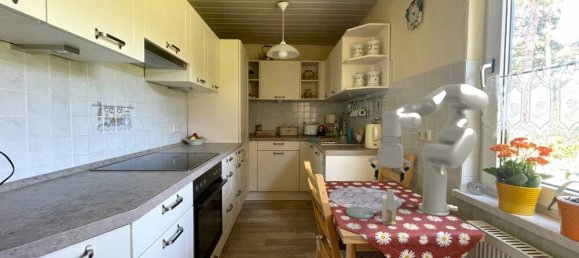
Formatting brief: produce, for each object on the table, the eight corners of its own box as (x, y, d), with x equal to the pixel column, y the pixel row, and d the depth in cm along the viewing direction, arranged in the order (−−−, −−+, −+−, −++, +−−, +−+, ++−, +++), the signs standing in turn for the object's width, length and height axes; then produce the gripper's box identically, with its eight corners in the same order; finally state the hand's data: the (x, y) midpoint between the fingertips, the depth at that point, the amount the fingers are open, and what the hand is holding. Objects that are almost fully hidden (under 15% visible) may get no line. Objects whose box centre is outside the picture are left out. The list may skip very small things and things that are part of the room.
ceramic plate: (374, 211, 121) (374, 208, 121) (373, 220, 110) (373, 218, 110) (347, 207, 125) (347, 205, 125) (344, 216, 114) (344, 214, 114)
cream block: (395, 216, 115) (395, 196, 115) (395, 221, 110) (396, 200, 110) (381, 214, 117) (382, 194, 117) (381, 219, 112) (382, 198, 112)
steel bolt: (393, 197, 106) (393, 190, 106) (394, 210, 91) (395, 202, 91) (386, 196, 107) (387, 189, 107) (387, 210, 92) (387, 201, 92)
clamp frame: (393, 211, 121) (394, 189, 120) (395, 226, 105) (396, 200, 104) (382, 210, 123) (383, 188, 122) (382, 224, 107) (383, 198, 106)
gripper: (369, 139, 111) (367, 179, 112) (414, 142, 106) (412, 184, 106) (370, 138, 118) (368, 176, 119) (412, 141, 113) (410, 180, 113)
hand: (388, 180), depth 113 cm, fingers open, 9 cm apart
